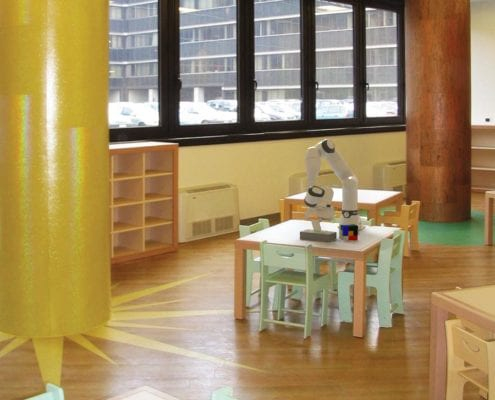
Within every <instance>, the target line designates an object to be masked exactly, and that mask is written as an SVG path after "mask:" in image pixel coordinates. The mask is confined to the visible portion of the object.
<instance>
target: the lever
mask: <svg viewBox="0 0 495 400" xmlns="http://www.w3.org/2000/svg"><path fill="white" fill-rule="evenodd" d="M318 218H319V216H318V215H312V214H310V216H309V219H308V220H310V222H311V225H312V230H314V231H318V232H321V231H322V227H321V222H320V223H319V219H318Z"/></svg>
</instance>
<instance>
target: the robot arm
mask: <svg viewBox="0 0 495 400" xmlns="http://www.w3.org/2000/svg"><path fill="white" fill-rule="evenodd" d="M323 159H325V160H326V162H327V163H328V165H329V167H330V168H331V170H332V171H333V173H334V174H335V176H336V177H337V179H339V181H340V182H341V186H342V187H341V189H342V190H341V191H342V199H341V200H342V206H341V207H342V208H341V215H340V216H339V221H338V222H339V223H338V224H355V225H357V226H358V231H359V230H360V231H362V230H364V228H366V225H363V219H362V218H361V216H360V214H359V213H360V209H358V198H359V197H358V195H359V193H358V192H359V189H358V186H359V179H358V178H357V176H356V175H355V173H354V172H353V170H352V169H351V168H350V166H349V165H348V163H347V162H346V160H345V159H344V157H343V155H342V154H341V153H340V151H339V150H338V149H337V148H336V147H335V143H334V142H333V141H332V140H331V139H329V138H326V139H323V140H322V141H318V143H316V144H314V145H313V146H311V147H308V148H307V149H306V151H305V155H304V163H305V164H304V165H305V174H306V195H305V197H304V198H303V202H304V204H305V205H306V206H307V207H308V208H307V210H306V212H305V214H304V216H305V219H306V220H310V219H309V216H310V214H312V215H318V216H319V218H318V219H319V223H320V224H321V222H322V221H328V222H330V221H331V222H332V221H333V220H334V218H335V212H336V211H335V207H334V206H333V205H331V203H332V201H333V200H334V199H333V198H334V190H333V188H331V187H330V186H328V185H326V186H318V185H316V184H317V179H318V175H319V173H320V170H321V166H322V165H321V164H322V162H321V160H323ZM337 228H338V229H339V225H337Z"/></svg>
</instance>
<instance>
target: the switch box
mask: <svg viewBox="0 0 495 400" xmlns="http://www.w3.org/2000/svg"><path fill="white" fill-rule="evenodd" d="M321 230H322V229H321ZM337 234H338V233H337V231H331V230H325V229H324V230H322V231H321V232H318V231H314V229H310V228H308V229H307V228H306V229H304V230H301V231H299V240H305V239H306V240H307V241H317V242H324V241H326V243H330V242H333V241H335V240H337V237H338V236H337Z"/></svg>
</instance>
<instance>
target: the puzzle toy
mask: <svg viewBox="0 0 495 400" xmlns="http://www.w3.org/2000/svg"><path fill="white" fill-rule="evenodd" d="M338 224H339V223H338ZM338 226H339V228H338V229H339V230H338V235H339V237H338V239H340V240H341V241H343V242H350V241H351V242H352V241H353V242H355V241H359V230H358V226H357V225H355V224H339V225H338Z"/></svg>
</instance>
